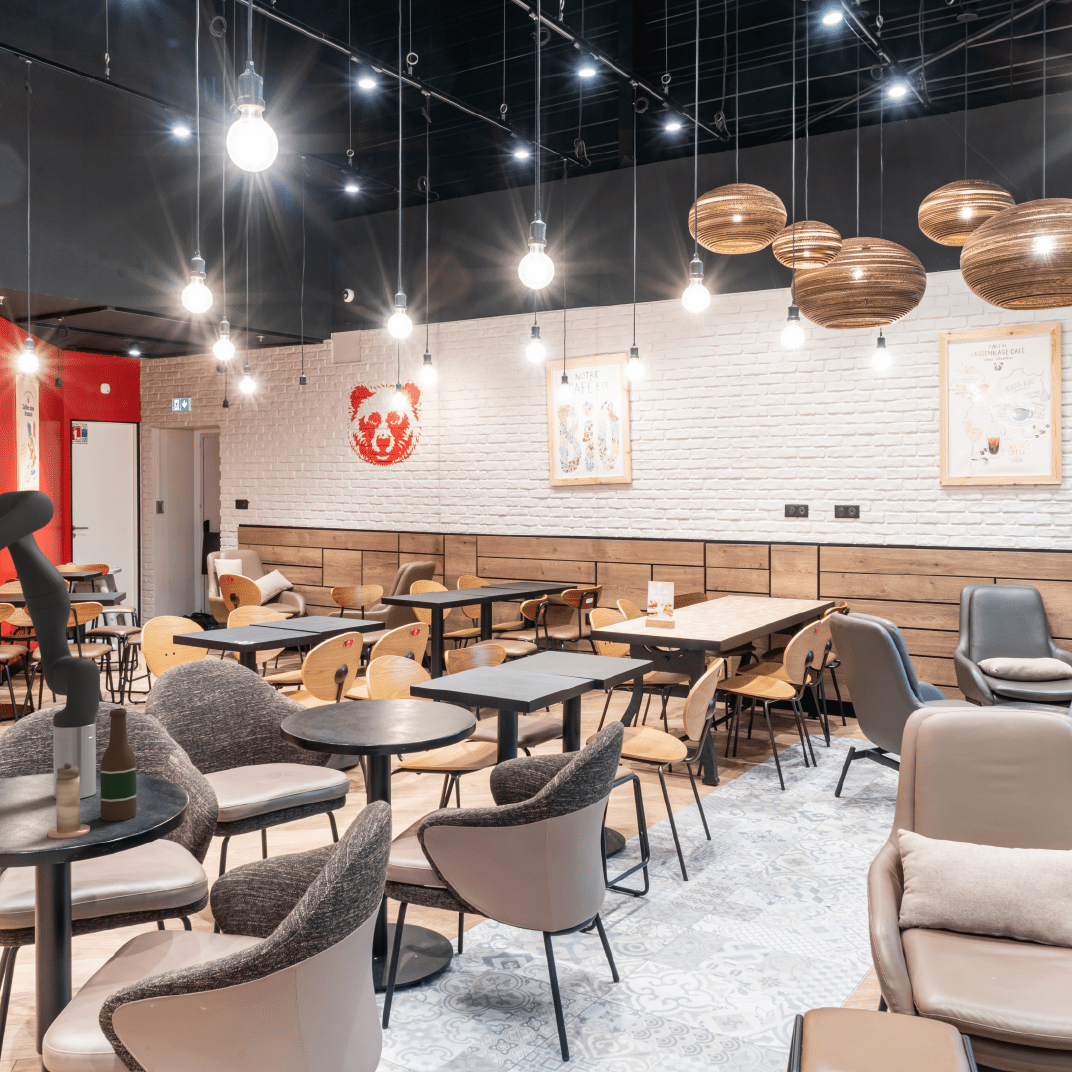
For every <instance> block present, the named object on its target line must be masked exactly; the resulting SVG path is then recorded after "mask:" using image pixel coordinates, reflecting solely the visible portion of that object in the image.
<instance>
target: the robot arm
mask: <svg viewBox="0 0 1072 1072" xmlns="http://www.w3.org/2000/svg"><path fill="white" fill-rule="evenodd" d="M54 513H55V507H54V503H53V501H52V499H51V497H50V496H49V495H48V494H47V493H45V492H43V491H41V490H35V489H34V490H33V489H31V490H29V489H28V490H16V491H14V490H13V491H5V492H2V493H1V494H0V551H2V550H4V549H5V548H7V550H8V553H9V554H10V557H11V559H12V562H13V563H12V564H13V566H14V569H15V572H16V575H17V578H18V581H19V583H20V588H21V591H22V595H23V598H24V602H25V605H26V608H27V611H28V614H29V617H30V621H31V623H32V626H33V630H34V633H35V638H36V642H37V646H38V649H39V655H40V659H41V665H42V671H43V676H44V680H45V684H46V685H47V687H48V689H49V691H51V692H52V693H53V694H55V695H58V696H65V697H66V702H65V707H64V708H63V709H62V710H60V711H57V712H55V713H54V715H53V718H52V724H53V725H52V726H53V728H52V730H53V732H52V733H53V737H52V738H53V741H52V742H53V744H52V745H53V748H52V749H53V798H54V799H56V779H57V769H58V768H61V767H64V765H65V763H68V762H69V763H71V765H72V766H78V776H79V778H80V799H84V798H88V797H91V796H93V795H95V794H96V793H97V757H96V756H97V755H96V754H97V752H96V751H97V748H96V745H97V744H96V739H97V738H96V737H97V736H96V735H97V733H96V731H97V730H96V727H97V725H96V718H97V717H96V716H97V714H98V711H99V708H100V707H99V706H100V696H101V695H100V693H101V692H100V691H101V674H100V673H101V672H100V669H99V666H98V664H97V663H96V662H95V661H94V660H92V659H90V658H85V657H73V655H72V653H71V651H70V648H69V644H68V639H67V627H68V624H69V619H70V615H71V609H72V604H71V598H70V594H69V590H68V587H67V583H66V581H65V580H66V579H65V578H64V576H63V575H62V574H61V572H60V570H59V569H58V568H57V567H56V566H55V564H53V562H51V561H50V559H49V558H48V557H47V556H46V555H45V554H44V553H43V551H42V550H41V548H40V547H39V546H38V543H37V541H36V538H35V535H34V533H35V532H37V531H39V530H41V529H43V528H45V527H46V526H47V525H49V524H50V523H51V521H52V519H53V517H54Z"/></svg>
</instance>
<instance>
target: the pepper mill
mask: <svg viewBox="0 0 1072 1072" xmlns="http://www.w3.org/2000/svg"><path fill="white" fill-rule="evenodd" d="M80 799H81V798H80V778H79V776H78V766H72V765H71V763H69V762H68V763H65V765H64V767H61V768H58V769H57V779H56V800H55V802H56V827H57V832H58V833H70V832H74V831H77V830H79V829H80V824H81V811H80V810H81V809H80V808H81V805H80V803H81V800H80Z"/></svg>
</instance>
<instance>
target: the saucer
mask: <svg viewBox="0 0 1072 1072" xmlns="http://www.w3.org/2000/svg"><path fill="white" fill-rule="evenodd" d="M90 831H91V826H90V825H89V824H84V823H80V829H79V830H77V831H74V832H70V833H58V832H57V826H56V827H54V828H52V829H49V830H48V832H47V837H48V838H51V839H57V840H58V839H60V840H62V839H70V838H71V839H73V838H76V837H81V836H84V835H86V834H88V833H90Z"/></svg>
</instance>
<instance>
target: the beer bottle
mask: <svg viewBox="0 0 1072 1072" xmlns="http://www.w3.org/2000/svg"><path fill="white" fill-rule="evenodd" d="M127 713H128V712H127V709H126V708H121V707H120V708H112V709H110V711H109V716H110V727H109V728H110V730H109V741H108V746H107V747H106V749H105V751H104V753H103V756H102V757H101V761H100V815H101V816H100V819H101V821H103V820H105V822H110V821H114V822H120V821H119V820H124V821H127V820H126V819H128V818H130V817H133V818H135V817H136V815H137V806H138V805H137V798H138V797H137V759H136V758H137V757H136V754H135V751H134V750H133V748H132V747H131V746H130V744H129V741H128V729H127V718H126V717H127V716H126V715H127ZM134 816H135V817H134ZM130 819H131V818H130ZM128 820H129V819H128Z"/></svg>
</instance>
